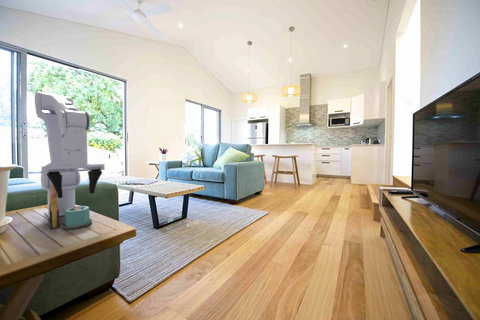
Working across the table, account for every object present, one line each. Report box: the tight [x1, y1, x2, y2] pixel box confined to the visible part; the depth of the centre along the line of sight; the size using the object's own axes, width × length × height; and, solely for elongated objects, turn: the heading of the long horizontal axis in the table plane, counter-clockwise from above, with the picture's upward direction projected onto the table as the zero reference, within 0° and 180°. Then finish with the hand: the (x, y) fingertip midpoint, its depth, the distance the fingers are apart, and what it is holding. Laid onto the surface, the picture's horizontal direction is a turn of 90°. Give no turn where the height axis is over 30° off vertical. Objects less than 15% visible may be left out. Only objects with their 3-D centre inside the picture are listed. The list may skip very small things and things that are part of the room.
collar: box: [64, 205, 91, 226], centre depth 60 cm, size 5×5×4 cm
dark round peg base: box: [61, 204, 93, 231], centre depth 60 cm, size 7×7×6 cm
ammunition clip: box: [48, 184, 60, 230], centre depth 61 cm, size 11×2×12 cm, turn 45°
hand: (76, 195), depth 60 cm, fingers open, 7 cm apart
